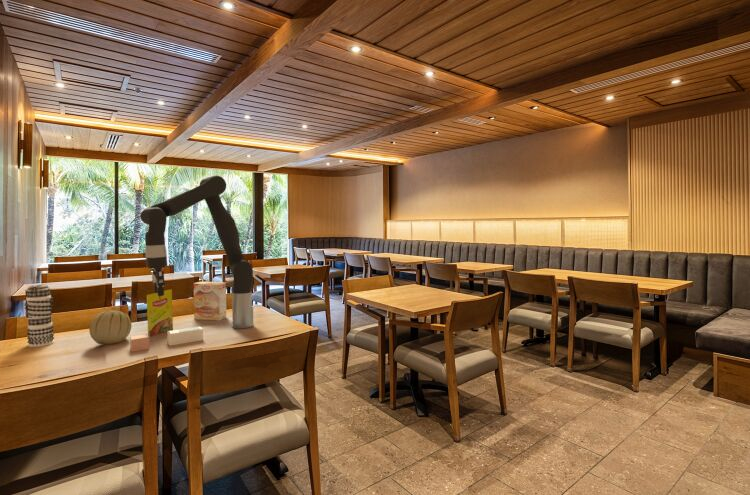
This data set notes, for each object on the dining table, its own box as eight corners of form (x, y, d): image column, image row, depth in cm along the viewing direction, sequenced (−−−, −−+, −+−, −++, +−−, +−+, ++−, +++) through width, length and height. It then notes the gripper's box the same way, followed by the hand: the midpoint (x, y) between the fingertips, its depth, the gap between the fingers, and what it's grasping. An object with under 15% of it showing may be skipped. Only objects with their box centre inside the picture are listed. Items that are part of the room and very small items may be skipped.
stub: (147, 345, 159) (147, 333, 159) (149, 348, 155) (148, 336, 155) (130, 348, 156) (130, 336, 155) (131, 351, 152) (131, 339, 151)
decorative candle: (60, 341, 167) (57, 284, 166) (35, 348, 159) (32, 287, 157) (46, 339, 170) (43, 283, 169) (21, 345, 162) (18, 286, 160)
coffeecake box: (193, 319, 206) (192, 283, 204) (201, 316, 213) (200, 281, 211) (219, 320, 203) (218, 284, 202) (226, 317, 210) (226, 282, 209)
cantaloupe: (86, 352, 154) (85, 315, 153) (93, 341, 167) (92, 307, 166) (130, 346, 161) (129, 311, 160) (133, 337, 174) (132, 304, 173)
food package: (149, 340, 170) (147, 295, 169) (147, 339, 171) (145, 295, 169) (173, 330, 185) (172, 289, 184) (171, 330, 186) (170, 289, 184)
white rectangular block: (200, 337, 171) (200, 326, 171) (203, 340, 167) (202, 328, 167) (167, 342, 163) (167, 330, 163) (169, 345, 159) (169, 333, 159)
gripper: (169, 256, 158) (172, 295, 159) (163, 253, 169) (166, 290, 170) (148, 258, 153) (151, 298, 154) (143, 255, 164) (146, 292, 166)
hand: (159, 294), depth 162 cm, fingers open, 8 cm apart
